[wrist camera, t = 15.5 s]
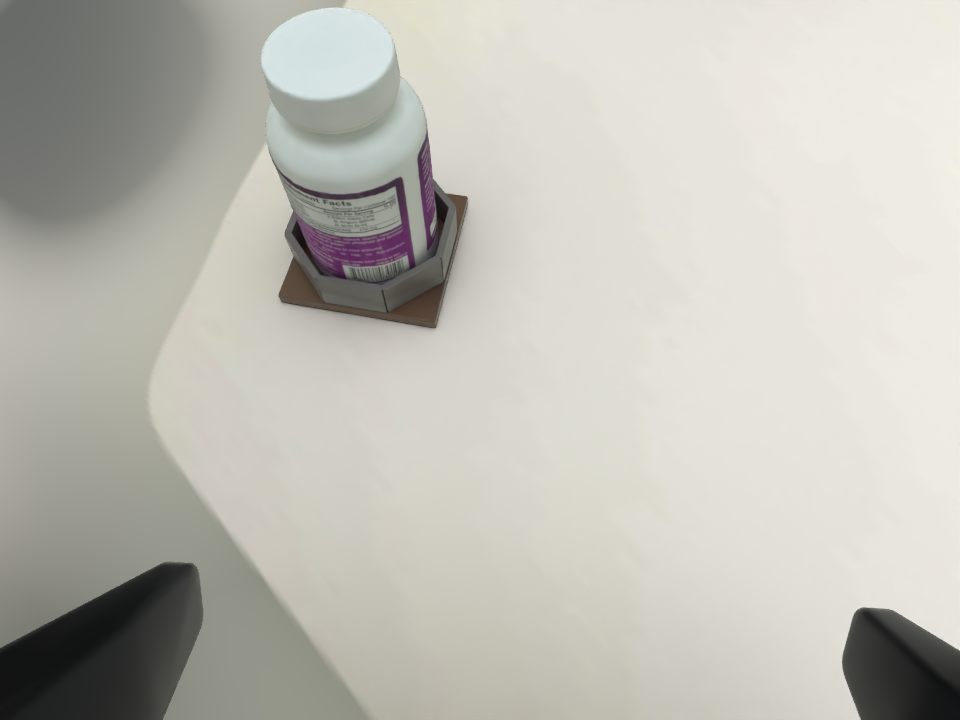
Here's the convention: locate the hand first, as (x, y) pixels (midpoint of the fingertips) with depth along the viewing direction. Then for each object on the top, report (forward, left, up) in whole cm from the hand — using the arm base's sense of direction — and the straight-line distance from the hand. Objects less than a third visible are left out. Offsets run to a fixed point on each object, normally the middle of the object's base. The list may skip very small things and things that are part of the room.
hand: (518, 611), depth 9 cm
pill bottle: (+6, +15, -13) cm, 21 cm away
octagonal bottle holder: (+6, +15, -14) cm, 22 cm away
